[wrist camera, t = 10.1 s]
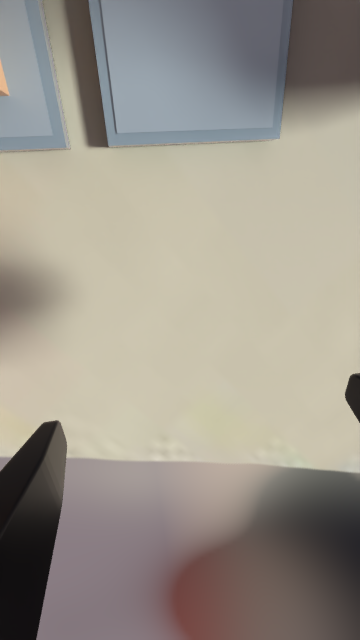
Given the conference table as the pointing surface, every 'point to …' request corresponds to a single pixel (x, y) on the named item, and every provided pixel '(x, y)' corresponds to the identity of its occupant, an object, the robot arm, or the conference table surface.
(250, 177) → the conference table surface
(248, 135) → the dish
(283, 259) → the conference table surface
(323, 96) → the conference table surface
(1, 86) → the block
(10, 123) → the dish
